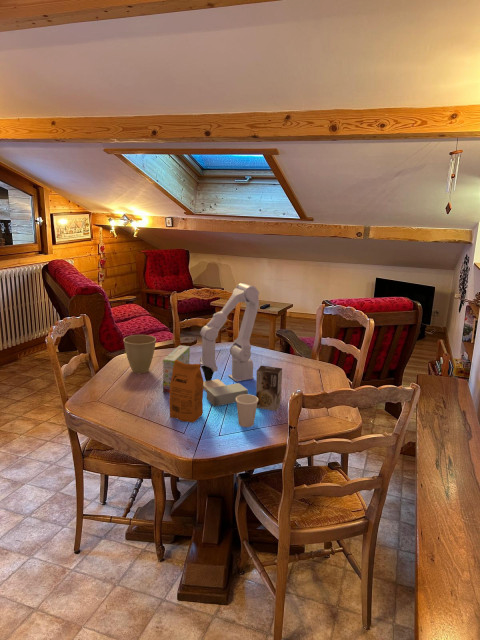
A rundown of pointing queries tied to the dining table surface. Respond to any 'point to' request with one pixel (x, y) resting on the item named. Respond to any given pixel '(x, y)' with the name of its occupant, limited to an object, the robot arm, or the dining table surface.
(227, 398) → the beige slab
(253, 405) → the dixie cup
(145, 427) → the dining table surface
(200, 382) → the coffee package
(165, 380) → the snack box
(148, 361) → the plant pot
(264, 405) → the coffee box
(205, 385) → the tile
